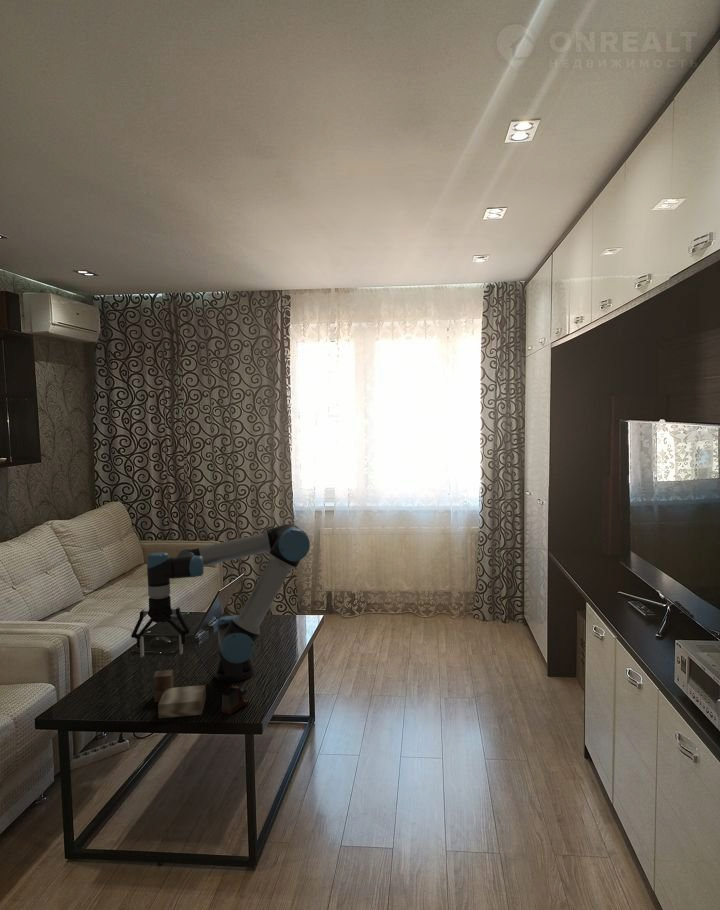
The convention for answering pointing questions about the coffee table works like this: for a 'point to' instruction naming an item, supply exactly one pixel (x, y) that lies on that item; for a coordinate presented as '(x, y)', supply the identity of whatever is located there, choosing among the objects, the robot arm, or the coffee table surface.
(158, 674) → the walnut block
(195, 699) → the oak block
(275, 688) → the coffee table surface
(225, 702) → the electronic device
